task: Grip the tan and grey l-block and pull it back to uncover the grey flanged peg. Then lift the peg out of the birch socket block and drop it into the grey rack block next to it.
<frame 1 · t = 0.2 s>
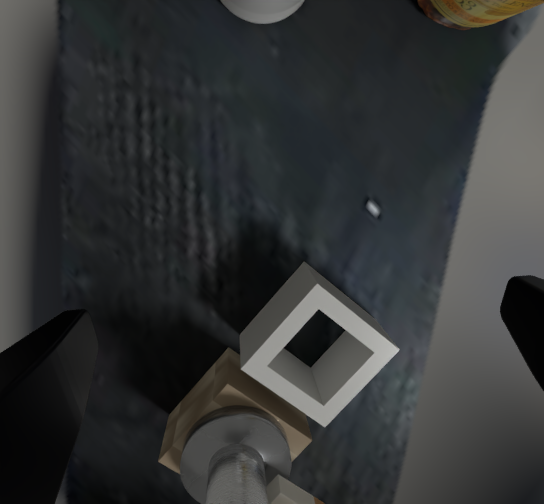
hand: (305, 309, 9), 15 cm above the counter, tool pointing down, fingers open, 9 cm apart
grey flanged peg: (235, 405, 27), resting in birch socket block
grey rack block: (308, 326, 26), on the counter
birch socket block: (235, 406, 27), on the counter
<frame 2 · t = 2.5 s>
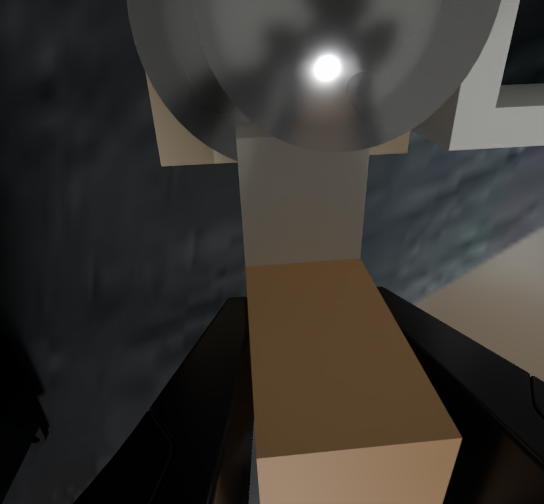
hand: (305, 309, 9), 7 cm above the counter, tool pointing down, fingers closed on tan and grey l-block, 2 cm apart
tan and grey l-block: (317, 292, 7), point 8 cm above the counter, slide at 0.0 cm, touching gripper
grey flanged peg: (269, 21, 12), resting in birch socket block
grey rack block: (502, 13, 12), on the counter
birch socket block: (269, 21, 12), on the counter
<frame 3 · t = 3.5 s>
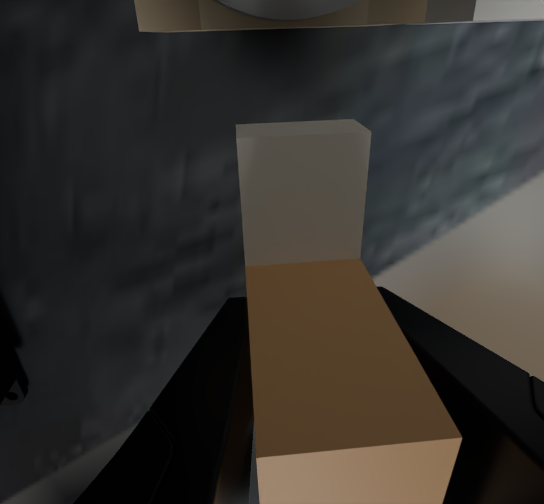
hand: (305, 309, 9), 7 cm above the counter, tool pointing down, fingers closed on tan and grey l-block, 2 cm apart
tan and grey l-block: (317, 291, 7), point 8 cm above the counter, slide at 2.9 cm, touching gripper
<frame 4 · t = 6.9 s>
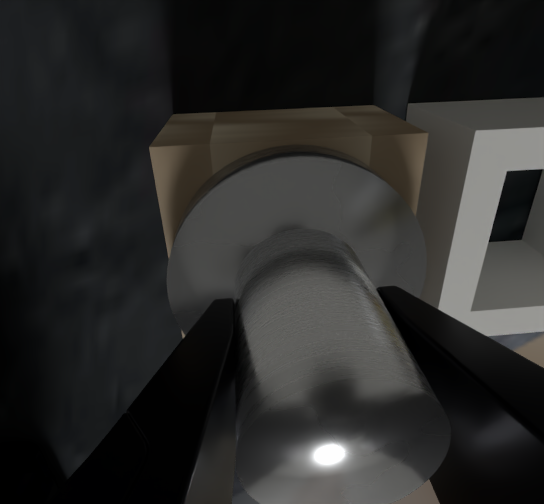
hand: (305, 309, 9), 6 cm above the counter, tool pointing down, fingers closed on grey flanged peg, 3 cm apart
grey flanged peg: (277, 203, 14), resting in birch socket block, touching gripper
grey rack block: (481, 191, 14), on the counter
birch socket block: (277, 203, 14), on the counter
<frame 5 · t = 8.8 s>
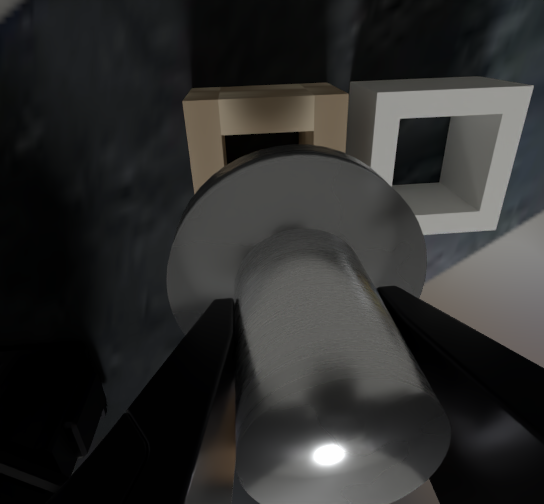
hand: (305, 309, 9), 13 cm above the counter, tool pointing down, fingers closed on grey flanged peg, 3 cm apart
grey flanged peg: (277, 203, 14), point 7 cm above the counter, touching gripper
grey rack block: (406, 145, 20), on the counter
birch socket block: (262, 152, 20), on the counter
when the fingers open (8 cm above the counter, at t = 10.8 s): grey flanged peg drops 2 cm, resting on grey rack block.
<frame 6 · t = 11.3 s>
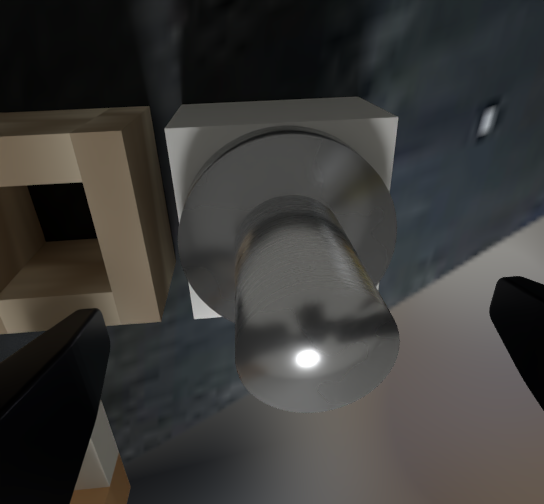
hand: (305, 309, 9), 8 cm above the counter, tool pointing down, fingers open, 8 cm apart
grey flanged peg: (272, 183, 16), resting on grey rack block
grey rack block: (273, 184, 16), on the counter
birch socket block: (80, 196, 15), on the counter
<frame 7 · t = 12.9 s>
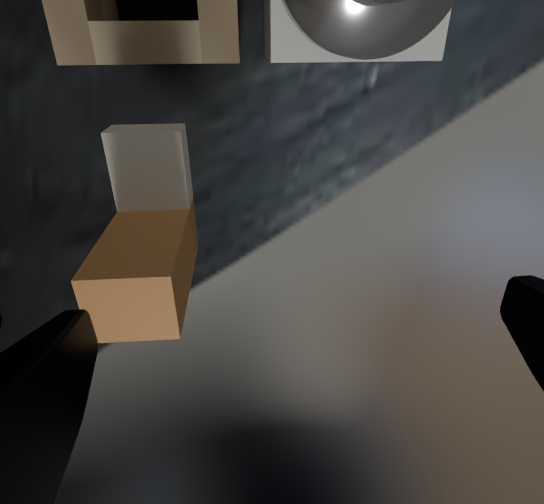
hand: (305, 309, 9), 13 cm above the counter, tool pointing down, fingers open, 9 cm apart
tan and grey l-block: (142, 221, 12), point 8 cm above the counter, slide at 2.9 cm
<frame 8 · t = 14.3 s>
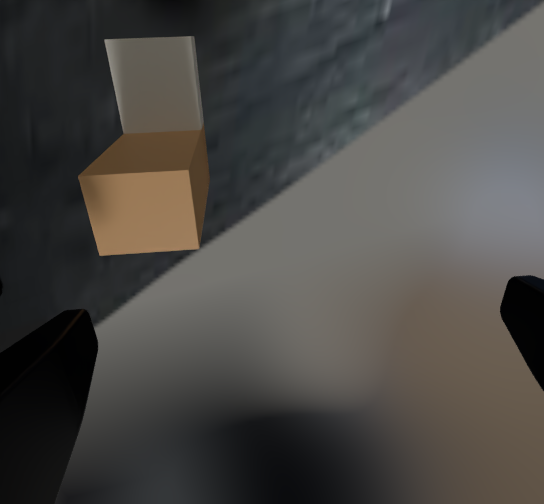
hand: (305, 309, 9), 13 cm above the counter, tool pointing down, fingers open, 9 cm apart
tan and grey l-block: (152, 132, 11), point 8 cm above the counter, slide at 2.9 cm
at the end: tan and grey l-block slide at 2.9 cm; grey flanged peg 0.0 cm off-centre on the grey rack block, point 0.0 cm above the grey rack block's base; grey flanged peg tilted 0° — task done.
